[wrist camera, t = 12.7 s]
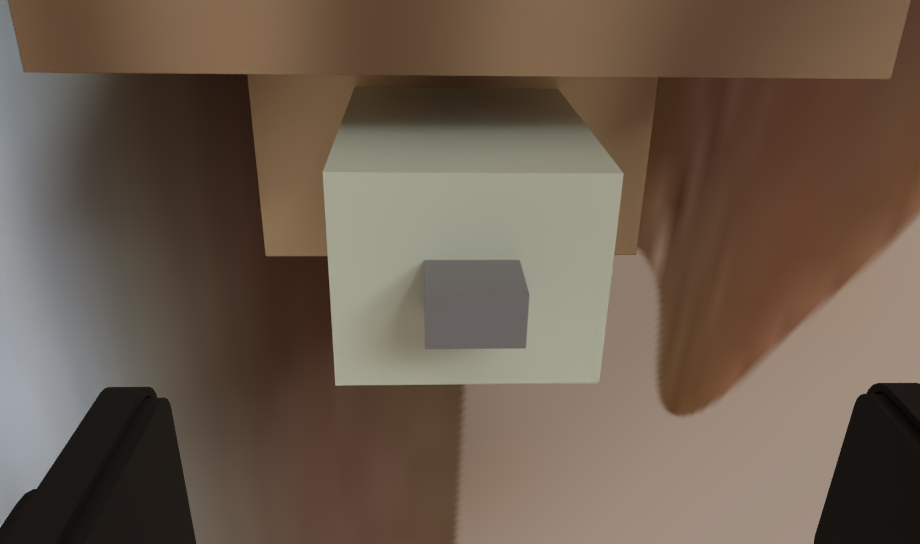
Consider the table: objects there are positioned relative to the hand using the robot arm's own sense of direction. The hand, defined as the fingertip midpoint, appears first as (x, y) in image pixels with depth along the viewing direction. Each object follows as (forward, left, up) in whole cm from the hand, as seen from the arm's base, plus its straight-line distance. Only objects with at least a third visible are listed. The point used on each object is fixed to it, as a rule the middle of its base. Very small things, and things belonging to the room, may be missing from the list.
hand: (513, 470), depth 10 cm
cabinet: (0, 0, -14) cm, 14 cm away
